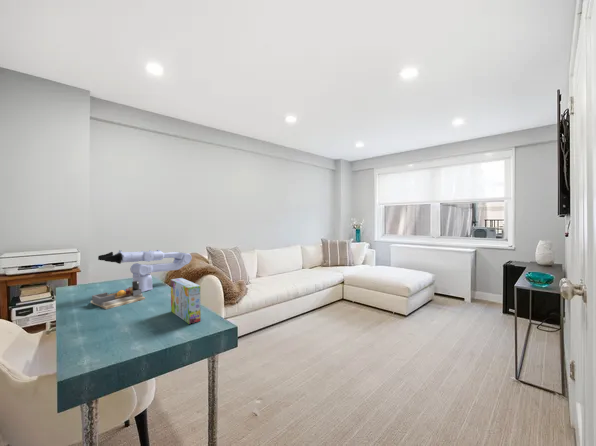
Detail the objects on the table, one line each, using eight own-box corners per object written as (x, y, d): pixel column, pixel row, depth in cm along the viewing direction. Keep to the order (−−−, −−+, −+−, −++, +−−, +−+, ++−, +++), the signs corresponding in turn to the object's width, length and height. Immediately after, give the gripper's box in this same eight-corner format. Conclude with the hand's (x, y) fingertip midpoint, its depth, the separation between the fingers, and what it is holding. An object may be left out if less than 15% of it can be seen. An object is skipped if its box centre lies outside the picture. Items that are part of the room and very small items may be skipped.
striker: (131, 293, 153) (131, 278, 153) (141, 296, 147) (140, 281, 147) (123, 295, 150) (123, 280, 149) (133, 298, 144) (132, 282, 143)
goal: (107, 298, 145) (106, 292, 145) (114, 301, 140) (114, 295, 140) (92, 302, 140) (92, 295, 140) (100, 305, 135) (99, 298, 135)
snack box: (202, 321, 116) (201, 285, 115) (188, 325, 112) (187, 287, 112) (182, 308, 132) (181, 276, 131) (170, 311, 128) (169, 279, 127)
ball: (123, 296, 150) (123, 288, 149) (127, 297, 147) (127, 289, 147) (115, 298, 146) (115, 290, 146) (119, 299, 144) (118, 291, 144)
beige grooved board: (128, 293, 157) (128, 288, 157) (145, 299, 147) (144, 293, 147) (90, 302, 142) (90, 296, 142) (106, 309, 132) (106, 303, 132)
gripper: (123, 249, 162) (96, 249, 151) (135, 250, 154) (108, 251, 143) (122, 261, 162) (95, 263, 151) (135, 263, 154) (107, 265, 143)
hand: (101, 258), depth 147 cm, fingers open, 7 cm apart
